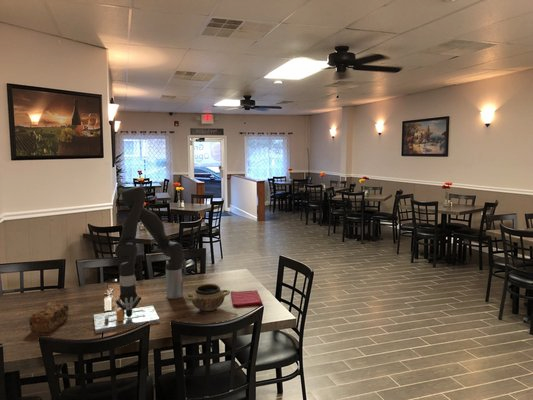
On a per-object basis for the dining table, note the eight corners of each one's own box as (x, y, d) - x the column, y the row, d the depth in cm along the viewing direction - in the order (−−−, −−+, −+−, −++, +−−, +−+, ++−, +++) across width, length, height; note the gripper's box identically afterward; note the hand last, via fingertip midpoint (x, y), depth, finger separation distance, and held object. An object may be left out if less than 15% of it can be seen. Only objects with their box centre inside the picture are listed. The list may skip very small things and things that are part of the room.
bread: (50, 317, 214) (49, 299, 212) (70, 317, 213) (69, 299, 212) (28, 333, 195) (27, 313, 194) (50, 333, 195) (49, 313, 194)
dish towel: (232, 308, 226) (232, 304, 226) (230, 294, 249) (229, 290, 249) (263, 307, 228) (263, 302, 228) (257, 292, 252) (257, 288, 251)
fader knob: (122, 316, 208) (122, 307, 207) (123, 320, 203) (123, 310, 203) (116, 317, 207) (116, 307, 206) (117, 321, 202) (116, 311, 202)
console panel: (152, 309, 225) (152, 296, 224) (159, 322, 206) (158, 308, 206) (94, 318, 212) (93, 304, 211) (95, 333, 194) (94, 318, 193)
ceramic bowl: (186, 322, 213) (186, 298, 208) (183, 302, 229) (183, 279, 224) (232, 317, 220) (233, 293, 214) (226, 298, 235) (227, 276, 230)
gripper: (140, 279, 211) (141, 311, 213) (113, 283, 205) (114, 316, 207) (142, 283, 204) (143, 316, 206) (114, 287, 199) (116, 321, 200)
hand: (129, 316), depth 207 cm, fingers closed
